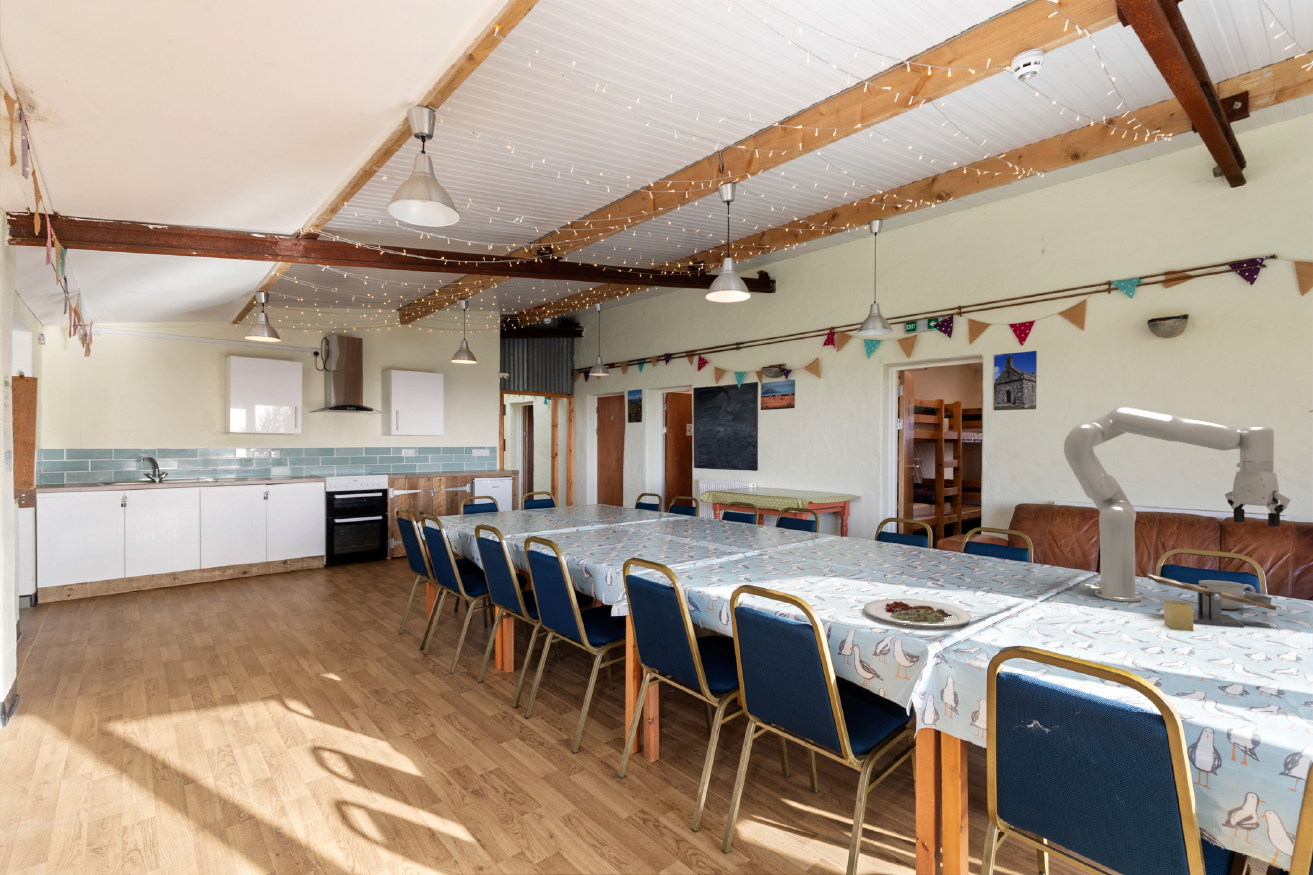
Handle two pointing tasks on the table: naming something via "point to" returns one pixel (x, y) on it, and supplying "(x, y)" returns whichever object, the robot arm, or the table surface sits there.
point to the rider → (1178, 615)
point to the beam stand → (1213, 611)
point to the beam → (1248, 597)
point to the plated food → (917, 612)
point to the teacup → (1227, 591)
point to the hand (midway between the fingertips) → (1256, 524)
